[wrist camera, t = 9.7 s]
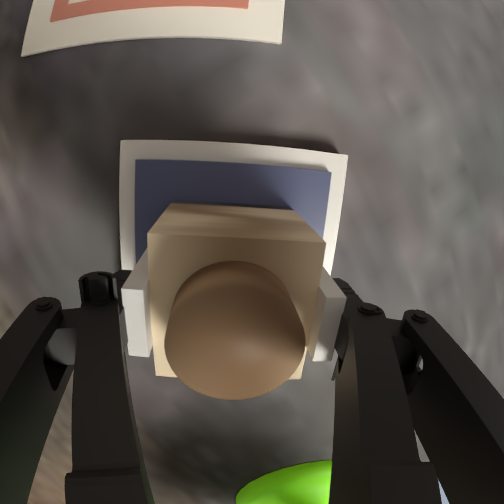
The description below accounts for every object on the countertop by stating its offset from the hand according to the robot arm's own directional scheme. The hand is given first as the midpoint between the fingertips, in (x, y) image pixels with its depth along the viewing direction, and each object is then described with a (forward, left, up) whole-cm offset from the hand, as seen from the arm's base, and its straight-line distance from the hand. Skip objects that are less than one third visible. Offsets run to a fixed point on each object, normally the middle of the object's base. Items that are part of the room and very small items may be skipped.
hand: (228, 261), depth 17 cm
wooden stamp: (0, 0, 0) cm, 0 cm away
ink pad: (0, 0, -2) cm, 2 cm away
